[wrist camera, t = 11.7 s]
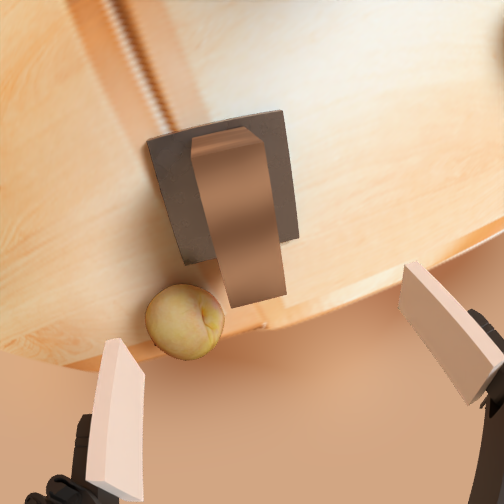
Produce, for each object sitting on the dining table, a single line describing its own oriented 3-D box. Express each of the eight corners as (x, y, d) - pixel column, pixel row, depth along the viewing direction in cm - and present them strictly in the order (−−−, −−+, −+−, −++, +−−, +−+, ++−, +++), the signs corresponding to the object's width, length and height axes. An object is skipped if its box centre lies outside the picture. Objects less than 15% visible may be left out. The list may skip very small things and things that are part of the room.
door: (265, 245, 31) (286, 294, 24) (221, 256, 31) (231, 308, 24) (243, 126, 25) (263, 142, 18) (192, 137, 24) (190, 158, 18)
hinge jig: (185, 260, 32) (184, 279, 29) (148, 139, 25) (142, 146, 22) (296, 233, 32) (307, 249, 30) (279, 109, 26) (291, 113, 23)
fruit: (222, 317, 37) (231, 368, 30) (155, 323, 35) (151, 375, 29) (218, 264, 33) (226, 314, 26) (141, 271, 32) (131, 323, 25)
